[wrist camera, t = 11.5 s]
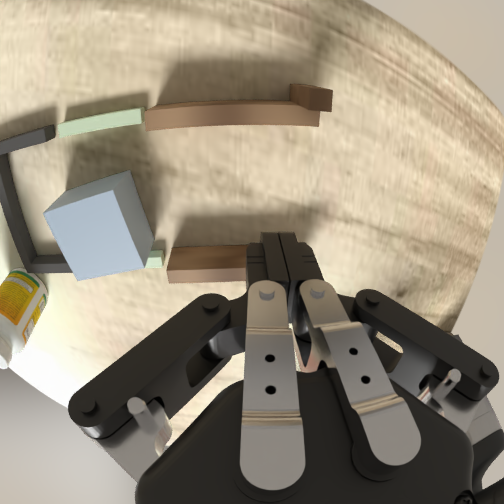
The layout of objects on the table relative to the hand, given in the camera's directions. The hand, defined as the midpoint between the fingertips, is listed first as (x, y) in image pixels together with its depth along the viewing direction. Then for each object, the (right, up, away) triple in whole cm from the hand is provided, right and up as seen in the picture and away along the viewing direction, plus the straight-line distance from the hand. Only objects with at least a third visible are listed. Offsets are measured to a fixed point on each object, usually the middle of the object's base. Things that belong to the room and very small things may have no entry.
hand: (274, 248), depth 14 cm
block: (-12, +3, +8) cm, 15 cm away
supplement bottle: (-24, -4, +11) cm, 27 cm away
